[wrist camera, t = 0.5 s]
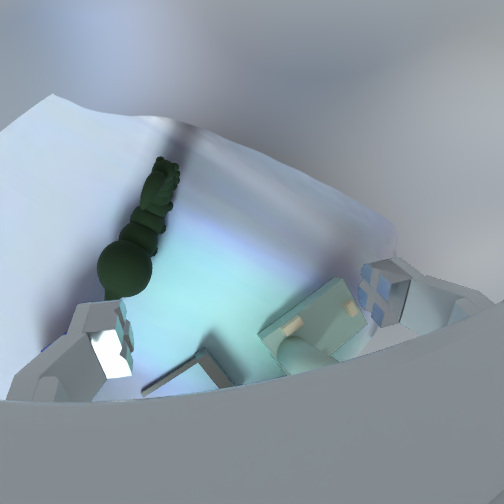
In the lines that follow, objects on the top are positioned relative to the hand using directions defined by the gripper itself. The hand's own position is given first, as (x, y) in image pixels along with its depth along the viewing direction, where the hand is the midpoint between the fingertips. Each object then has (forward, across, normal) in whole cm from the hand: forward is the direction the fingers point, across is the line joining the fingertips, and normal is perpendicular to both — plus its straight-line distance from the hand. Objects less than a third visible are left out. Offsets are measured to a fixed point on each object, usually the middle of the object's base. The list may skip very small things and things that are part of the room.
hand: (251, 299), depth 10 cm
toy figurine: (+47, -10, -17) cm, 51 cm away
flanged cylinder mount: (+39, +21, -37) cm, 58 cm away
